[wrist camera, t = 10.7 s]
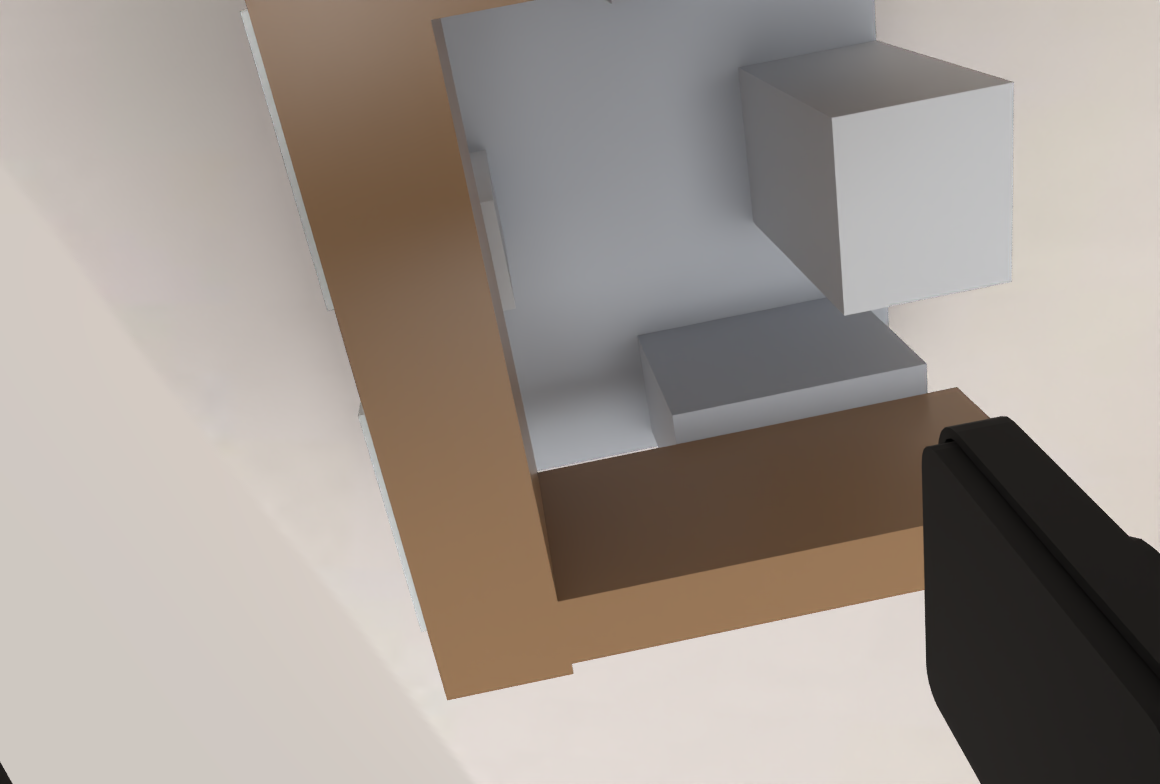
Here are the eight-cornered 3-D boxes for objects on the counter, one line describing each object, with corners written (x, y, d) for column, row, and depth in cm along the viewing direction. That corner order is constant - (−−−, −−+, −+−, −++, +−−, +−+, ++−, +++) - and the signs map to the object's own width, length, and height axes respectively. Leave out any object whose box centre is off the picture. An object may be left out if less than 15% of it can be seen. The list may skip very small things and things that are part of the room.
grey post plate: (249, -121, 24) (162, -135, 17) (848, -233, 24) (1017, -294, 17) (415, 478, 31) (404, 654, 23) (879, 383, 31) (1008, 527, 24)
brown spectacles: (263, -79, 19) (203, -77, 14) (949, -207, 19) (1103, -243, 15) (437, 558, 25) (434, 703, 20) (957, 452, 25) (1068, 569, 21)
